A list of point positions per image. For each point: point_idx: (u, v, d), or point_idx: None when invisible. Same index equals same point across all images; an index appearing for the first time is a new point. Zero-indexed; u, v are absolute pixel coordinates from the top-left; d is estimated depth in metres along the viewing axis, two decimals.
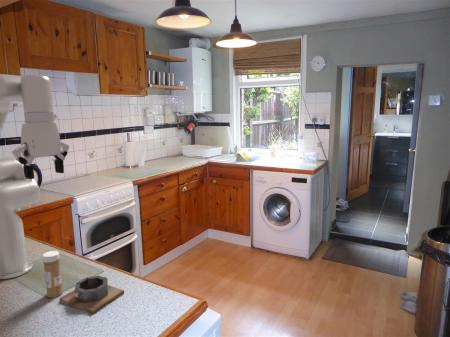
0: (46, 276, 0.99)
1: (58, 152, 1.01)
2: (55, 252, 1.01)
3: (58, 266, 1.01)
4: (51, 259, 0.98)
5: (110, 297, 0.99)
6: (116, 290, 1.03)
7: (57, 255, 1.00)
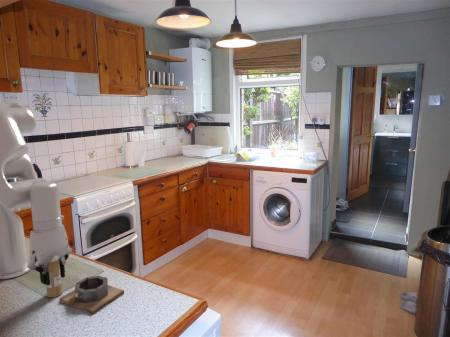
0: None
1: (65, 252, 1.03)
2: None
3: (58, 266, 1.01)
4: None
5: (110, 297, 0.99)
6: (116, 290, 1.03)
7: None
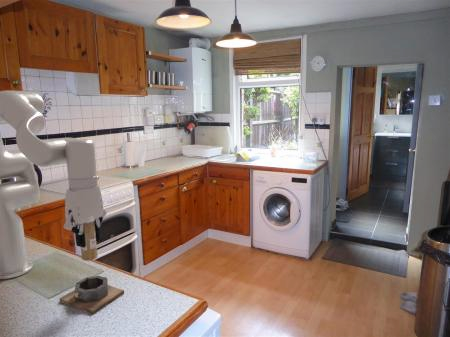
0: None
1: (100, 215, 0.98)
2: None
3: (93, 228, 0.97)
4: None
5: (110, 297, 0.99)
6: (116, 290, 1.03)
7: None
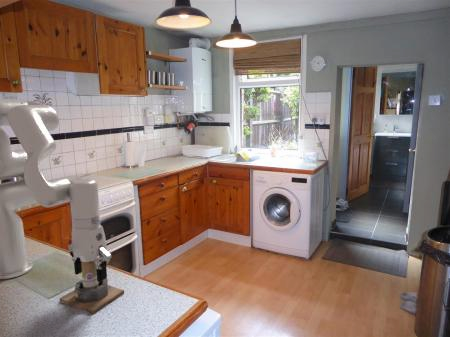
0: None
1: (92, 259, 0.95)
2: None
3: (86, 269, 0.97)
4: (80, 257, 0.97)
5: (110, 297, 0.99)
6: (116, 290, 1.03)
7: (84, 257, 0.96)
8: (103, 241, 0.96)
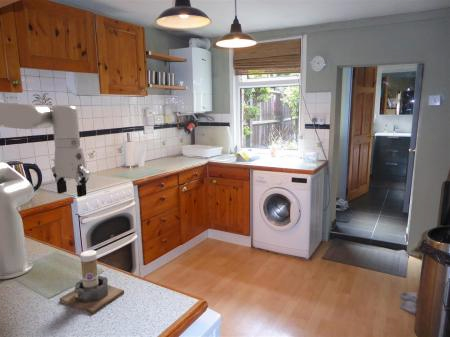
0: None
1: (72, 176, 1.07)
2: (89, 254, 0.97)
3: (86, 269, 0.97)
4: (80, 257, 0.97)
5: (110, 297, 0.99)
6: (116, 290, 1.03)
7: (84, 257, 0.96)
8: (82, 161, 1.08)
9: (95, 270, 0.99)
